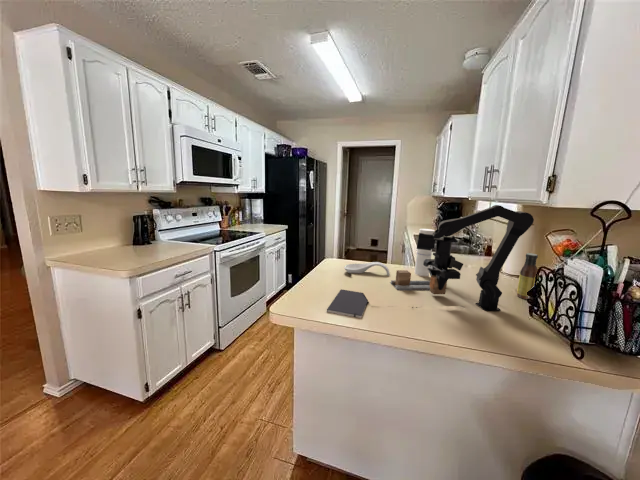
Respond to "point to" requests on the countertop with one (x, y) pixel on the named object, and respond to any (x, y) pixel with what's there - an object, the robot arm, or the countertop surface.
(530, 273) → the sauce bottle
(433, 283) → the brown wooden block
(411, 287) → the rail
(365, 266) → the spoon rest
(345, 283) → the countertop surface
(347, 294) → the notebook
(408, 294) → the countertop surface
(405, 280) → the fixed walnut finger
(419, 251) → the cylindrical container
